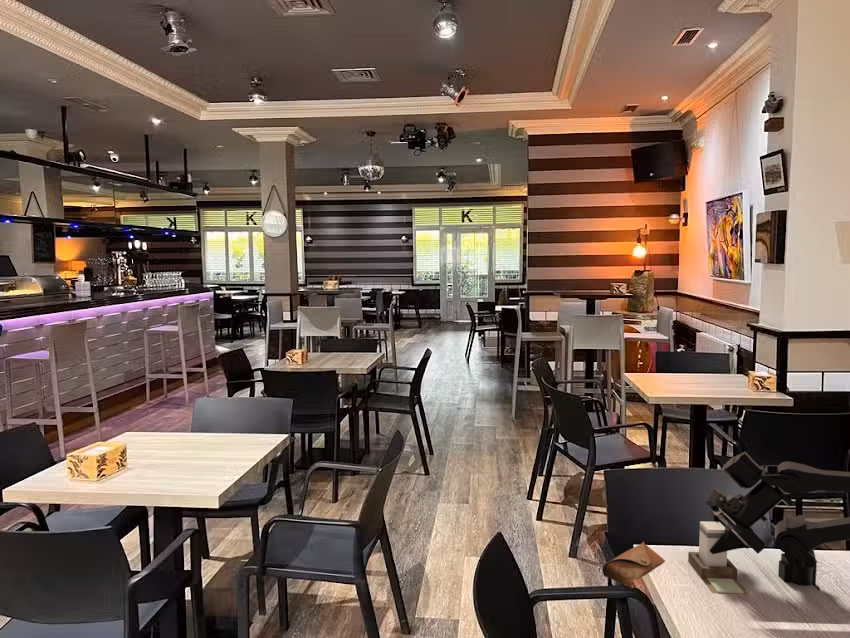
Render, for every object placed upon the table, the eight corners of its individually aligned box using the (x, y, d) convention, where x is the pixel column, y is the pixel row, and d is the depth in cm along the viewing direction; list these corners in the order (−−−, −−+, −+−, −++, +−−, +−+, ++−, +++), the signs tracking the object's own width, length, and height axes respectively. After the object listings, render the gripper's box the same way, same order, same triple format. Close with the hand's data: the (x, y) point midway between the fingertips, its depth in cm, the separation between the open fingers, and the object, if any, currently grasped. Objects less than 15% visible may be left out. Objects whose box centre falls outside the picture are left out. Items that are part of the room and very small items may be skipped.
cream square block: (717, 565, 142) (719, 521, 141) (726, 575, 137) (728, 530, 136) (698, 565, 142) (699, 521, 141) (706, 575, 137) (707, 529, 136)
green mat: (732, 579, 135) (732, 578, 135) (743, 593, 129) (743, 592, 129) (707, 579, 135) (707, 578, 135) (717, 592, 130) (717, 591, 130)
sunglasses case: (635, 589, 133) (622, 559, 135) (610, 593, 138) (598, 564, 140) (672, 563, 145) (660, 536, 147) (649, 567, 150) (637, 541, 152)
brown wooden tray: (721, 566, 143) (722, 552, 143) (749, 598, 129) (750, 583, 129) (688, 565, 144) (688, 551, 143) (712, 597, 130) (712, 582, 129)
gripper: (715, 465, 146) (668, 507, 148) (752, 494, 128) (698, 542, 130) (746, 497, 147) (699, 538, 148) (787, 530, 128) (733, 577, 130)
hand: (706, 547), depth 139 cm, fingers closed on cream square block, 4 cm apart
